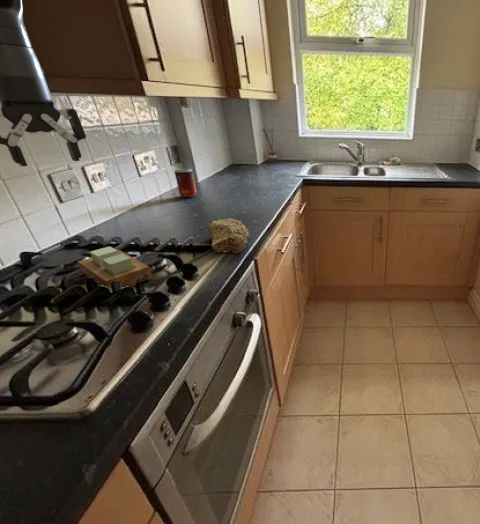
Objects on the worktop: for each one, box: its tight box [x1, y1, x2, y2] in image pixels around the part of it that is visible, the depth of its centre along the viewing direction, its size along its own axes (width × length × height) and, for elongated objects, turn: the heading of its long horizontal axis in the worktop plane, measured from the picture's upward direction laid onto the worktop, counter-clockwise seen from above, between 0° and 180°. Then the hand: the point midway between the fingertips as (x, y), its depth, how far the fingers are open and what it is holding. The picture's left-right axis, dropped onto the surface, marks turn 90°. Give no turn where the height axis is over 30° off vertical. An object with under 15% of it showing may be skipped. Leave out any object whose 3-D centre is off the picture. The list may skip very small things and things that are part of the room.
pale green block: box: [102, 254, 134, 275], centre depth 80 cm, size 4×4×6 cm
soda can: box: [174, 167, 198, 198], centre depth 148 cm, size 7×7×12 cm
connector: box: [77, 249, 153, 288], centre depth 83 cm, size 9×16×4 cm, turn 56°
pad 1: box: [89, 246, 119, 267], centre depth 84 cm, size 4×4×6 cm
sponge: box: [207, 218, 250, 254], centre depth 103 cm, size 13×8×20 cm
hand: (50, 163), depth 69 cm, fingers open, 8 cm apart
